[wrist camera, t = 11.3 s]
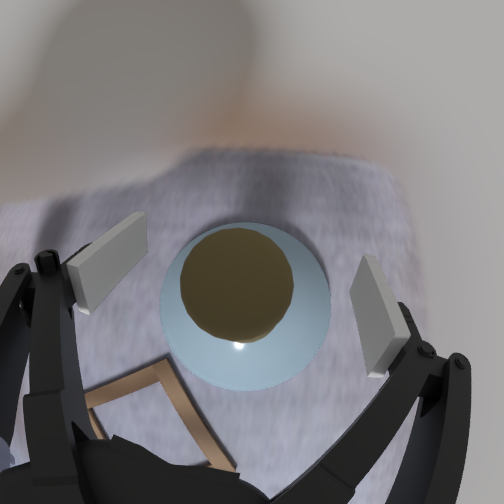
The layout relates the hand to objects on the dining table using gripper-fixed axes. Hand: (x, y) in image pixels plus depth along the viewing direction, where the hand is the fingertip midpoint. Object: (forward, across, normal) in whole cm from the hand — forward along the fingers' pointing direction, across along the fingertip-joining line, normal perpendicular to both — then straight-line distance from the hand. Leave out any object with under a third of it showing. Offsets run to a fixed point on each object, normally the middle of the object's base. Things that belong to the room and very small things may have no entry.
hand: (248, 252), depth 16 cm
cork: (+3, 0, -7) cm, 7 cm away
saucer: (+4, 0, -7) cm, 8 cm away
